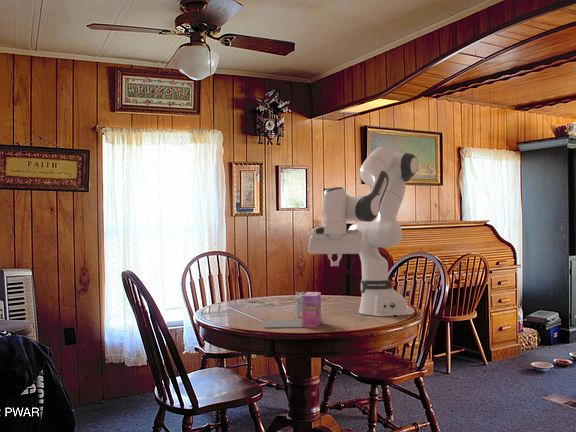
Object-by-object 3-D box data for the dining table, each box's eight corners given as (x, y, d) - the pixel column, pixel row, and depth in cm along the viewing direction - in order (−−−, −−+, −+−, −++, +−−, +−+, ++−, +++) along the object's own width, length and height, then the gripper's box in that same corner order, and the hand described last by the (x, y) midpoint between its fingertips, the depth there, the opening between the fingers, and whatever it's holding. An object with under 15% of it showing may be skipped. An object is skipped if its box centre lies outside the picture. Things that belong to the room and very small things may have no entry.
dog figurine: (292, 319, 209) (292, 292, 209) (301, 313, 221) (300, 288, 221) (305, 319, 207) (304, 292, 207) (313, 314, 219) (312, 288, 219)
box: (317, 327, 190) (317, 295, 190) (302, 327, 191) (301, 295, 191) (321, 322, 200) (321, 292, 200) (306, 322, 201) (306, 291, 201)
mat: (300, 321, 202) (300, 320, 202) (302, 327, 190) (302, 326, 190) (264, 322, 202) (264, 321, 202) (264, 328, 190) (264, 327, 190)
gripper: (360, 229, 200) (360, 265, 199) (307, 229, 199) (307, 265, 199) (363, 229, 193) (363, 266, 193) (308, 229, 193) (309, 266, 192)
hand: (334, 266), depth 196 cm, fingers closed
